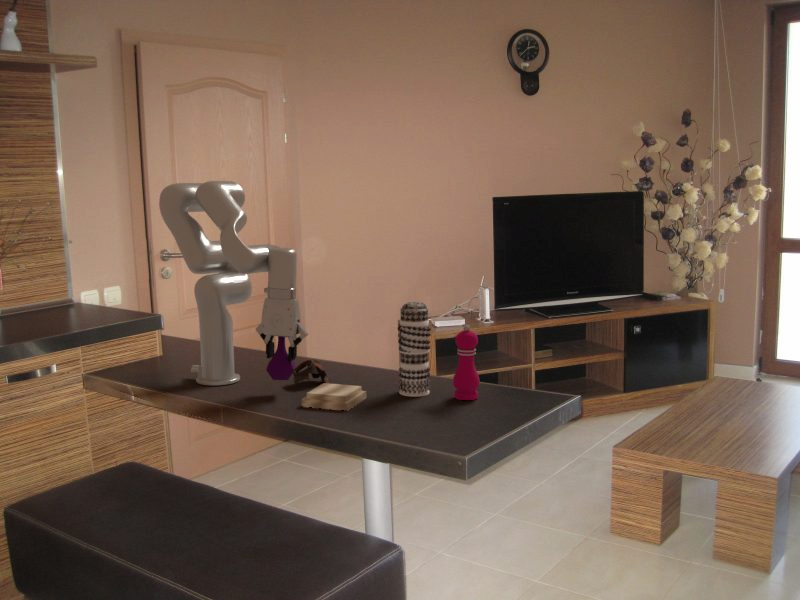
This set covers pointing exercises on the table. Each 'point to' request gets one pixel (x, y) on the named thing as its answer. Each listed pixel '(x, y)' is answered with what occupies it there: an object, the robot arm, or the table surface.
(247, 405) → the table surface
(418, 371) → the decorative candle
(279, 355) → the perfume bottle
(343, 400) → the plinth
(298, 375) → the pottery mug
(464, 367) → the pepper mill
